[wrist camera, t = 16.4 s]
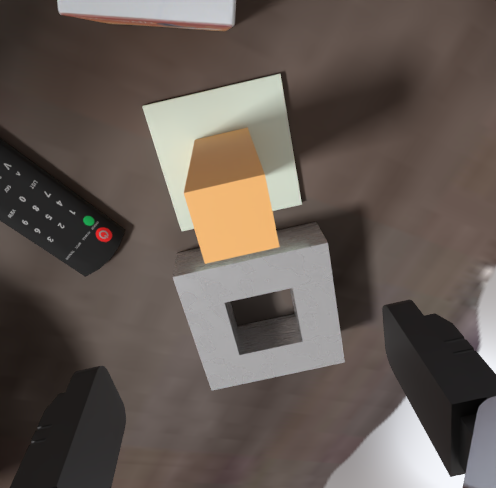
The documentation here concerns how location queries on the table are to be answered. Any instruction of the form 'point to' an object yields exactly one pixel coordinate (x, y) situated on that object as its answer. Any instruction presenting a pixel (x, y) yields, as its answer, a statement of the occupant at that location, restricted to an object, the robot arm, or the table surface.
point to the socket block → (268, 331)
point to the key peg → (229, 197)
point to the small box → (155, 12)
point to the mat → (221, 121)
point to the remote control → (54, 214)
